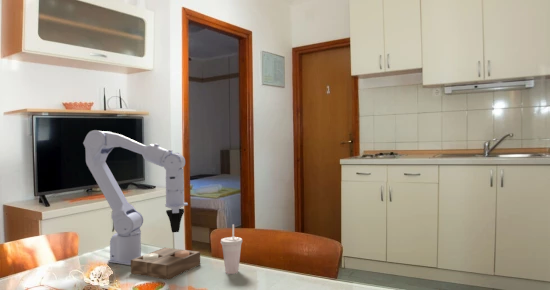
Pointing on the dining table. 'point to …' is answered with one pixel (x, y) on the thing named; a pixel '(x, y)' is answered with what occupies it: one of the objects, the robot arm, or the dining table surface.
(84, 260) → the dining table surface
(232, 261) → the smoothie
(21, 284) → the dining table surface
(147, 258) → the knob cream
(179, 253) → the peach egg
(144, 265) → the wooden egg crate
